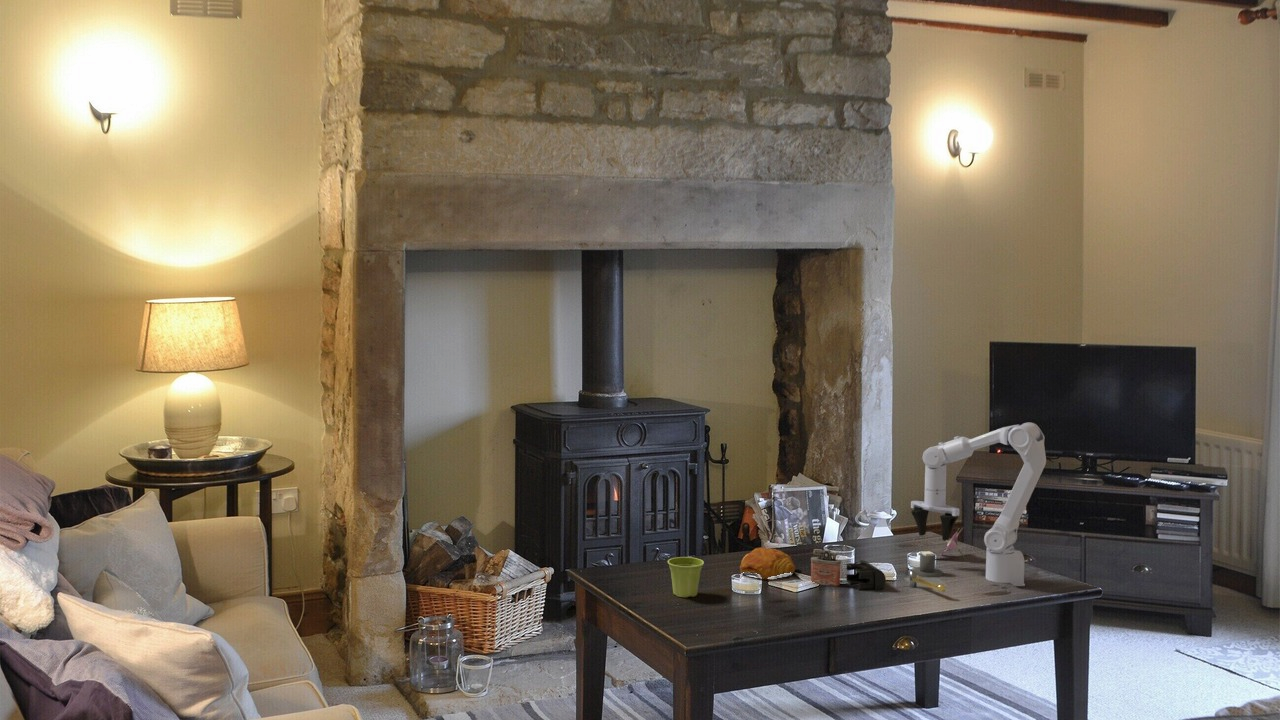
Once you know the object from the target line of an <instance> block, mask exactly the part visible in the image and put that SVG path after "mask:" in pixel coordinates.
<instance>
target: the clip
mask: <svg viewBox="0 0 1280 720" xmlns="http://www.w3.org/2000/svg"><path fill="white" fill-rule="evenodd" d="M909 578H910V583H909V587H910V588H916V587H917V582H918V583H920V584H923V585H925V586H928V587H930V588H929V589H933V590H936V591H938V592H940V593H941V592H942V593H945V592H946V588H947V587H946V585H943V584H939V585H937V584H935V583H932V582H930V581H927V580H925V579H922V578H923V577H921V576H918V575H917V571H912V570H909Z"/></svg>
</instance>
